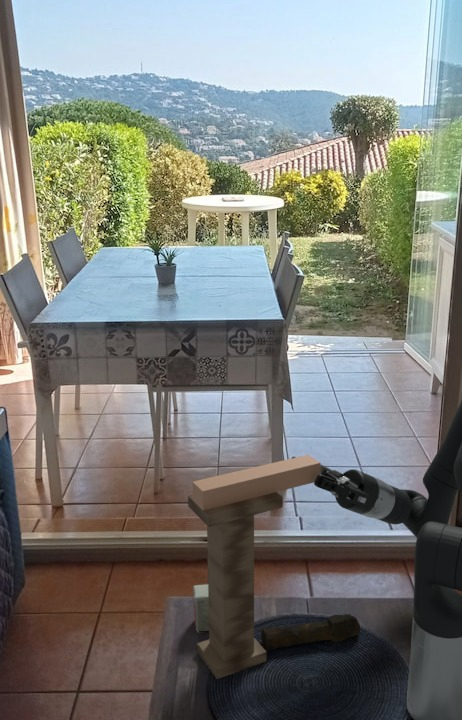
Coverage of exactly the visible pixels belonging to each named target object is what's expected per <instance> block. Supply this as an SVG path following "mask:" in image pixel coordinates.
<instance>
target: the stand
mask: <svg viewBox="0 0 462 720" xmlns="http://www.w3.org/2000/svg"><path fill="white" fill-rule="evenodd" d="M283 499H284V498H283V495H281V494H280V493H278V492H275V493H271V494H267V495H263V496H259V497H255V498H251V499H247V500H243V501H239V502H235V503H231V504H227V505H223V506H220V507H216V508H212V509H208V510H204V511H203V510H202V509H201V508H200V507H199V506H198V505H197V504H196V503H195V502H194V501H193V494H191V495H189V494H188V495H187V505H188V508H189V509H190V510H191V512H193V513H194V514H195V515H196V516H197V517H198V518H199V519H200V520H201V521H202V522H203V523H204V525H206V536H207V537H206V539H207V540H206V541H207V584H208V599H209V632H208V636H209V637H208V639H206V640H205V639H204V640H203V641H200V642H197V643H196V647H197V649H196V650H197V652H198V653H199V654H198V653H197V654H198V655H199V657H200V656H201V657H200V658H201V659H202V661H203V662H204V663H205V665H206V667H207V666H208V667H207V668H208V669H209V671H210V670H211V671H210V672H211V674H212V675H213V676H214V677H215V679H216V680H219V679H222V678H225V677H227V676H230V675H233V674H235V673H238V672H240V671H243V670H246V669H249V668H251V667H255V666H257V665H260V664H262V663H265V662H267V653H268V651H267V652H266V651H265V649H264V648H263V645H261V644H260V643H259V641H258V640H257V639H256V638H255V515H258V514H263V513H267V512H269V511H270V512H271V511H274V510H277V509H281V508H283V505H284V504H283Z"/></svg>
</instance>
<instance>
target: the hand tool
mask: <svg viewBox="0 0 462 720" xmlns="http://www.w3.org/2000/svg"><path fill="white" fill-rule="evenodd" d="M260 631H261V632H260V633H261V634H260V635H261V636H260V639H261V643H262V647H263V648H264V649H265V651H266V652H267V653H268V652H269V650H272V651H276V650H277V649H278V648H283V647H284V648H285V647H289V646H296V645H304V644H311V643H316V642H322V641H330V642H331V643H338V642H342V641H345V640H348V639H350V638H351V639H352V638H353V637H355V636H357V635H359V634H360V631H361V625H360V622H359V620H358V619H357V617H355V616H354V615H351V614H349V613H345V614H333V615H332V614H331V615H329V616H328V617H327V619H326V620H322V621H315V622H308V623H301V624H295V625H286V626H279V627H272V628H269V627H268V628H267V627H264V626H262V627H261V630H260Z"/></svg>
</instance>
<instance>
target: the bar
mask: <svg viewBox="0 0 462 720" xmlns="http://www.w3.org/2000/svg"><path fill="white" fill-rule="evenodd" d="M295 457H296V458H292V457H291V458H292V459H291V458H289V459H284V460H279V461H276V462H270V463H266V464H263V465H262V464H261V465H259V466H254V467H250V468H245V469H241V470H237V471H234V472H233V471H232V472H229V473H223V474H219V475H215V476H211V477H207V478H203V479H198V480H194V481H192V482H191V483H192V484H191V485H192V495H193V501H194V502H195V503H196V504H197V505H198V506H199V507H200V508H201V509H202V510H203V511H204V510H208V509H212V508H216V507H220V506H223V505H227V504H231V503H235V502H239V501H243V500H247V499H251V498H255V497H259V496H263V495H267V494H271V493H275V492H277V493H278V492H281V491H282V492H283V491H286V490H290V489H293V488H297V487H301V486H305V485H309V484H314V482H315V480H316V478H317V476H318V475H319V474H320V465H322V464H321V462H320V461H318V460H317V459H316V458H314V457H312V456H311V455H309V454H305V455H302V456H298V457H297V456H295Z"/></svg>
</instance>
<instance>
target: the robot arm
mask: <svg viewBox="0 0 462 720" xmlns="http://www.w3.org/2000/svg"><path fill="white" fill-rule="evenodd" d="M447 430H448V431H447V433H446V435H445V437H444V439H443V441H442V443H441V445H440V447H439V449H438V451H437V452H436V454H435V456H434V458H433V459H432V460H431V463H430V464H429V467H428V468H427V469H426V472H425V473H424V475H423V477H422V484H423V485H424V488H425V489H426V492H427V493H428V496H427V497H426V496H424V495H423V494H422V493H420V492H419V491H418V492H417V491H415V490H413V489H403V488H402V489H401V488H398V487H395V486H393V485H390V484H388V483H386V482H385V481H383V480H382V479H380V478H377V477H375V476H372V475H370V474H368V473H366V472H363V471H362V470H361V471H360V470H358V469H354V468H353V469H348V470H346V471H344V472H343V473H342V472H340V471H338V470H336V469H331V468H329V467H328V466H326V465H323V464H321V465H320V474H319V475H318V476H317V478H316V480H315V482H314V483H313V485H314V486H315V487H317V488H319V489H322V490H324V491H327V492H329V493H331V495H332V496H334V498H335V501H336V502H337V504H338V506H340V507H341V508H342V509H345V510H347V511H351V512H353V513H356V514H358V515H361V516H364V517H367V518H370V519H371V518H372V519H376V520H378V521H382V522H384V523H387V524H390V525H400V524H403V525H404V526H405V527H406V528H407V530H409V531H410V532H411V533H412V535H413V536H414V537H415V538H416V540H415V549H414V564H413V565H414V569H413V570H414V573H413V574H414V579H413V581H414V587H413V588H414V589H413V610H412V612H413V613H412V623H411V624H412V626H411V640H410V651H409V652H410V654H409V655H410V656H409V668H408V680H407V681H408V682H407V692H406V709H407V712H408V714H409V713H410V714H409V715H410V716H411V718H412V719H413V720H462V594H461V593H460V592H462V527H459V526H454V525H452V524H451V525H450V524H449V521H450V518H451V514H452V510H453V507H454V504H455V503H454V502H455V500H456V495H457V493H458V492H459V491H460V493H461V495H462V399H461V401H460V403H459V405H458V408H457V410H456V411H455V414H454V417H453V418H452V421H451V424H450V427H449V428H448V429H447ZM296 457H297V456H291V458H290V459H292V458H296Z"/></svg>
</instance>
